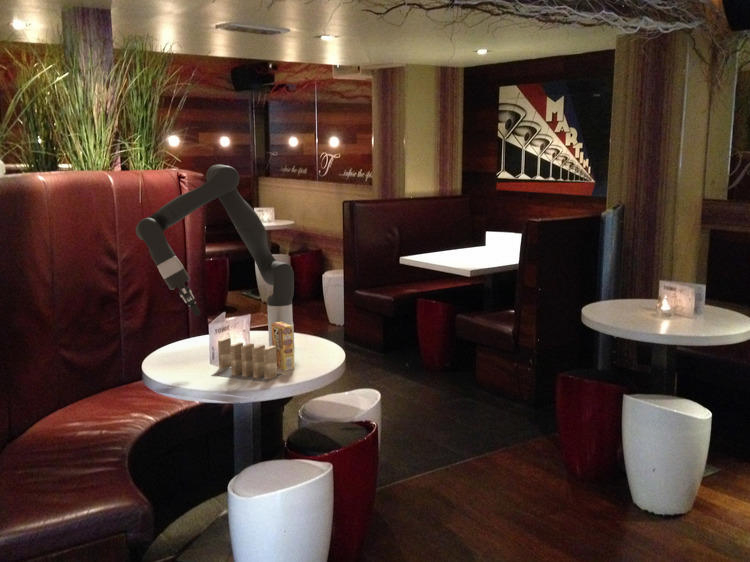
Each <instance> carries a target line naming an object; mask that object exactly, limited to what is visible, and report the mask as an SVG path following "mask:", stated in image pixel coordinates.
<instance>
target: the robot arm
mask: <svg viewBox="0 0 750 562" xmlns="http://www.w3.org/2000/svg"><path fill="white" fill-rule="evenodd" d="M239 184H240V175H239V172H238V171H237V169H235V168H234V167H232V166H230V165H225V164H214V165H211V166H210V167H209V168H208V169H207V171H206V182H205V183H203V184H202V185H200V186H198V187H196V188H194V189H192V190H189V191H187V192H186V193H183V194H180V195H177V196H176V197H175V198H174V199H172V200H170V201H169V202H167V203H166V204H164V205H163V206H161V207H160V208H159V209H158V210H157V211H156V212H154V213H153V214H151V215H149V216H148V217H145V218H143V219H141V220H139V222H137V225H136V226H135V235H136V237H137V238H138V239H140V240H142V241H144V243H145V245H146V246H147V248H148V251H149V255H150V257H151V259H152V260H153V262H154V264H155V265H156V267H157V269H158V272H159V273H160V275H161V277H162V279H163V281H164V282H165V283H166V285H167V286H168V288H169V290H175V289H179V292H178V295H179V296H180V298H182V300H183V301H184V303H185V304H187V306H188V307H189V308H190V309H191V311H192V313H193V315H194V316H195V317H198V316H200V315H202V311H201V309H200V308H199V306H198V305H197V302H196V300H195V296H194V295H193V292H192V290H191V288H190V286H187V285H185V284H186V283H187V282H189V281H190V280H191V277H190V276H189V274H188V272H187V270H186V269H185V267H184V265H183V264H182V262H181V260H180V259H179V258H178V256H176V253H175V251H174V250H173V249H172V247H171V245H170V244H169V242H168V241H167V238H166V236H165V233H164V232H165V231H166V230H167V229H169V228H170V227H172V226H174V225H176V224H177V223H179V222H180V221H182V220H183V219H184V218H186V217H188V216H189V215H190V214H192V213H193V212H195V211H196V210H198V209H199V208H201V207H203V206H204V205H206V204H208V203H210V202H212V201H213V200H216V199H219V202H220V203H221V204H222V206H223V207H224V209H225V211H226V213H227V215H228V218H230V220H231V222H232V224H233V226H234V227H235V229H236V231H237V233H238V235H239V236H240V239H241V240H242V241H243V243H244V244H245V246H246V248H247V249H248V251H249V253H250V255H251V257H252V258H253V260H254V262H255V264H256V267H257V269H258V271H259V273H260V275H261V278H262V279H263V281H264V282H265V283H266V284H267V285H269V286H272V287H273V289H272V294H271V295H269V296H268V297H267V298H266V300H267V301H266V304H267V305H266V306H267V326H268V347H270V346H273V345H272V327H271V323H275V322H284V323H286V324H289V325H292V329H293V346H294V347H295V333H294V331H295V330H294V326H295V325H294V321H293V298H294V294H295V293H294V291H295V273H294V270H293V269H294V268H293V267H292V266H291V264H289V263H287V262H284V261H283V262H282V261H277V259H276V258H275V257H274V256H273V253H272V252H271V250H270V247H269V246H268V233H267V230H266V228H265V225H264V223H263V222H262V220H261V219H260V216H259V215H258V214H257V212H256V211H255V209H253V208H252V206H251V205H250V204H249V203H248V202H247V201H246V200H245V199H244V198H243V197H242V195H241V193H240V192H239V191H238V188H237V187H238V186H239Z"/></svg>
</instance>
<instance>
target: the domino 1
mask: <svg viewBox="0 0 750 562" xmlns="http://www.w3.org/2000/svg"><path fill="white" fill-rule="evenodd" d="M231 342H232V340H231V337H225V338H222V339H218V340H217V350H218V365H219V369H222V370H224V369H227V368H229V367H231V353H230V346H231V345H232V344H231Z"/></svg>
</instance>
